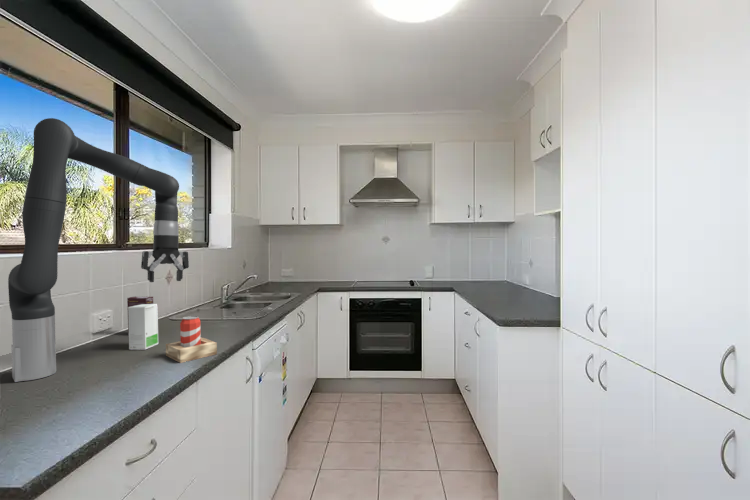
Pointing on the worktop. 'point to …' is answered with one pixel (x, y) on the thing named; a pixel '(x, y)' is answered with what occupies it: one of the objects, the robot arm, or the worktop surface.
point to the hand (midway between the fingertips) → (165, 281)
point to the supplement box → (138, 302)
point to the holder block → (191, 350)
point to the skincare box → (143, 326)
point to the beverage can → (190, 331)
